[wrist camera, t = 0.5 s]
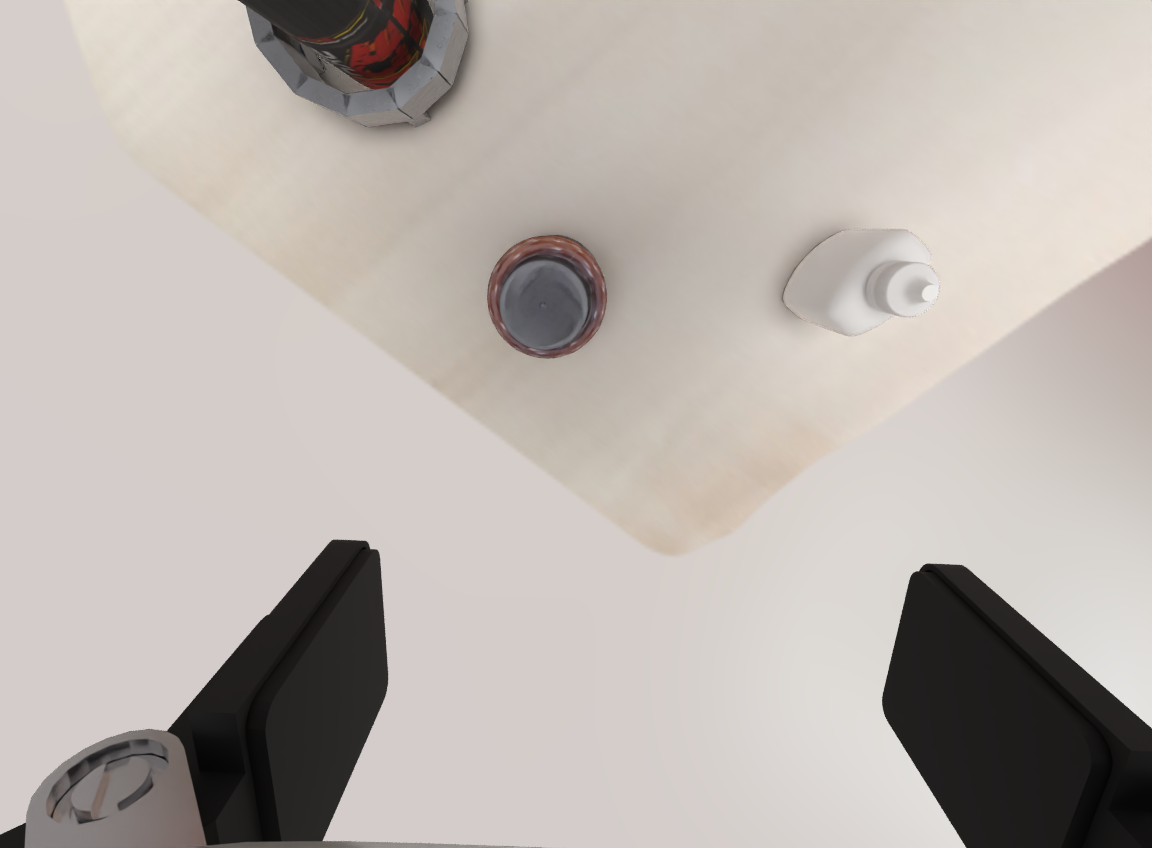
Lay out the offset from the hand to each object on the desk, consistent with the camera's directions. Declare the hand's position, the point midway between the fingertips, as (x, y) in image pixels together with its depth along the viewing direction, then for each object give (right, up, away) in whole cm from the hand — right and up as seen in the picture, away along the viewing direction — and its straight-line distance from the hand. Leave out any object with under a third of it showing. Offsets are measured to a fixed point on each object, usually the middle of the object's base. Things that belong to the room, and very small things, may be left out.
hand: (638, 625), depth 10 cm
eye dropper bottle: (+14, +13, +26) cm, 33 cm away
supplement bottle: (-2, +12, +27) cm, 30 cm away
